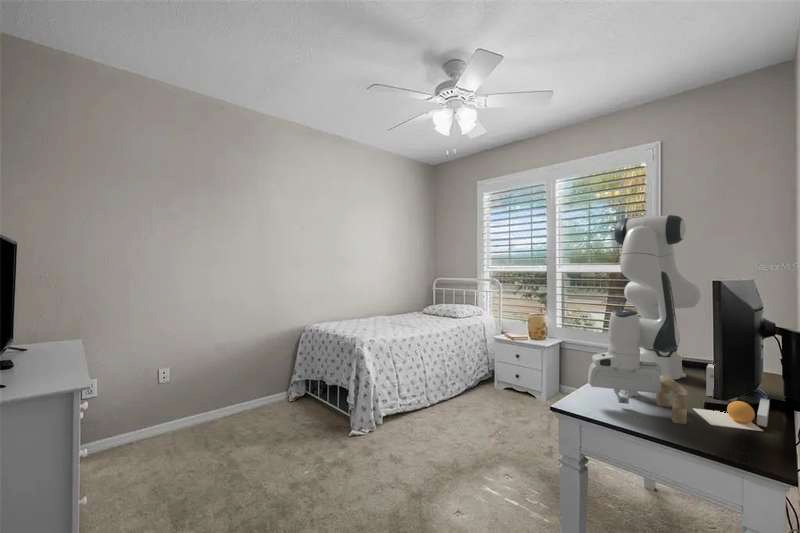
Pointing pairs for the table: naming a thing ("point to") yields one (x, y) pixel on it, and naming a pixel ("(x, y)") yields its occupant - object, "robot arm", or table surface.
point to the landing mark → (724, 420)
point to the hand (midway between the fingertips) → (622, 402)
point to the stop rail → (763, 412)
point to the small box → (710, 380)
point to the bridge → (673, 399)
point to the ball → (741, 411)
